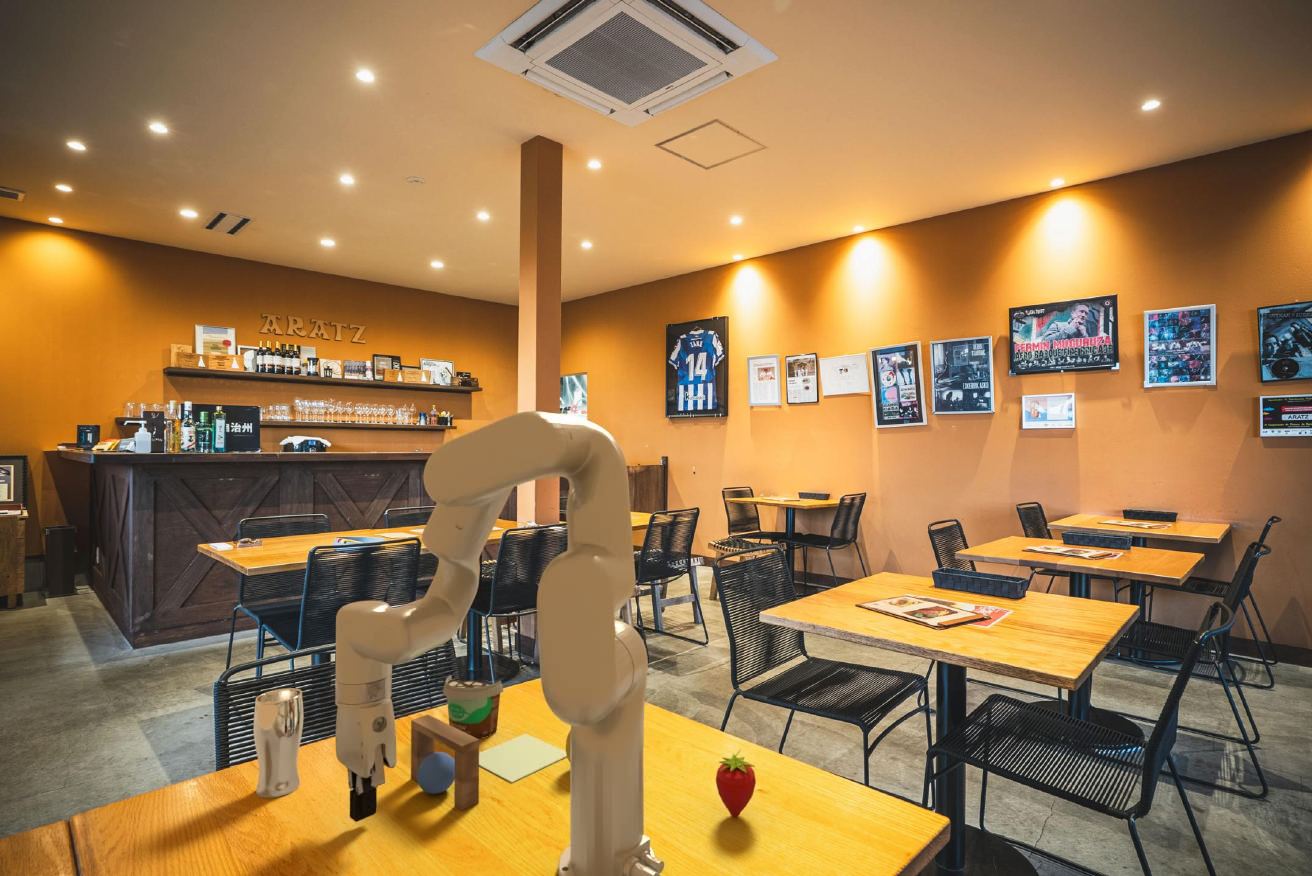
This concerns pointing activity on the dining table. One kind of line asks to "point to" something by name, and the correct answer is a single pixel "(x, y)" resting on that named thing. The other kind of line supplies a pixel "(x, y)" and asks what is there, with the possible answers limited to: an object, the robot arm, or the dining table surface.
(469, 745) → the bridge
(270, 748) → the metal pint tumbler
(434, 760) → the ball
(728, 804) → the strawberry
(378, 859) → the dining table surface
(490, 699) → the food container
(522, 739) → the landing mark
